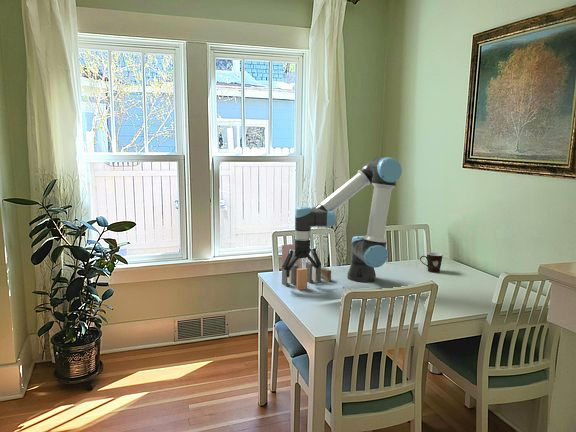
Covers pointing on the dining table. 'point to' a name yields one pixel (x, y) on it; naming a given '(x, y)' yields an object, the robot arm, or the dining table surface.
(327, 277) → the block
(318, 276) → the domino
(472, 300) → the dining table surface
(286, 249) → the greeting card
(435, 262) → the coffee mug
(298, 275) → the orange rectangular block
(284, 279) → the domino
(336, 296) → the dining table surface
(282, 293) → the dining table surface
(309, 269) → the domino
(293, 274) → the domino
